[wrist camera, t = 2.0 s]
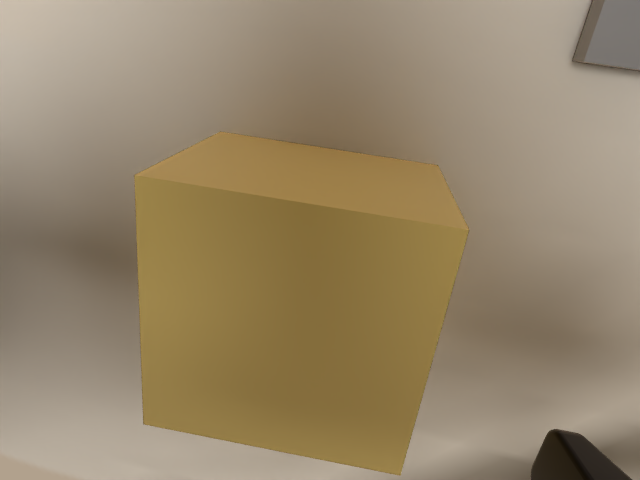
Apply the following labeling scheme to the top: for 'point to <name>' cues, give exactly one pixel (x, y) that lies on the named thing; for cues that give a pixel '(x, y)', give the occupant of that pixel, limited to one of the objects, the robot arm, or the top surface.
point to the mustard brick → (293, 295)
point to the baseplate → (611, 35)
